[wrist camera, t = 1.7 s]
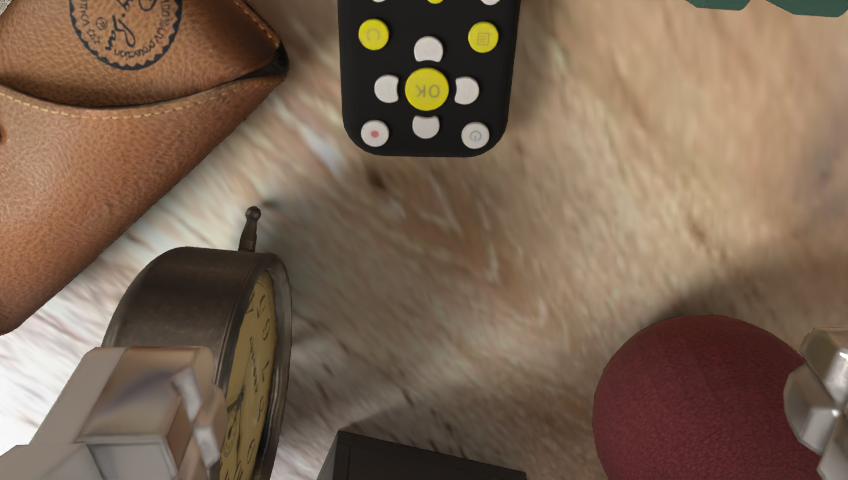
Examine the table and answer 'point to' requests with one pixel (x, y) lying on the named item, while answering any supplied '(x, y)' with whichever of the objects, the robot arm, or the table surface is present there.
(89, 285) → the table surface
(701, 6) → the mount
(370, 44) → the remote control
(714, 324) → the decorative ball
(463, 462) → the open dark gray crate
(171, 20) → the sunglasses case
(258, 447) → the alarm clock
